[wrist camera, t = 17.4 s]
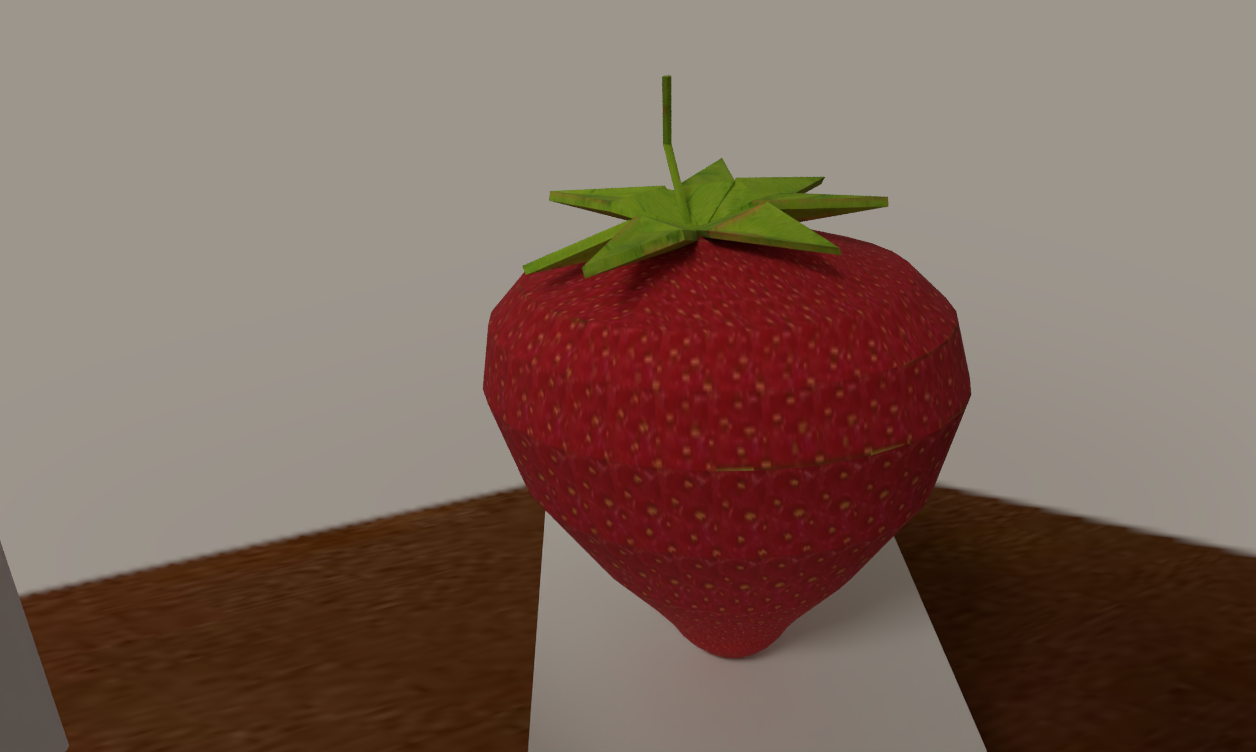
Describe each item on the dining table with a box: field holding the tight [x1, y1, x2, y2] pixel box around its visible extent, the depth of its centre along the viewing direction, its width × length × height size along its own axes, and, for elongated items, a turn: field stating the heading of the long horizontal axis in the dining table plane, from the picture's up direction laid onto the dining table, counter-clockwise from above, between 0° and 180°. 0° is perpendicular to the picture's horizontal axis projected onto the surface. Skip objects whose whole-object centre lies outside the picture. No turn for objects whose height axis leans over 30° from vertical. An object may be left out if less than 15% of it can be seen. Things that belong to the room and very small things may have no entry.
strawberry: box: [483, 75, 971, 658], centre depth 18 cm, size 6×8×10 cm
